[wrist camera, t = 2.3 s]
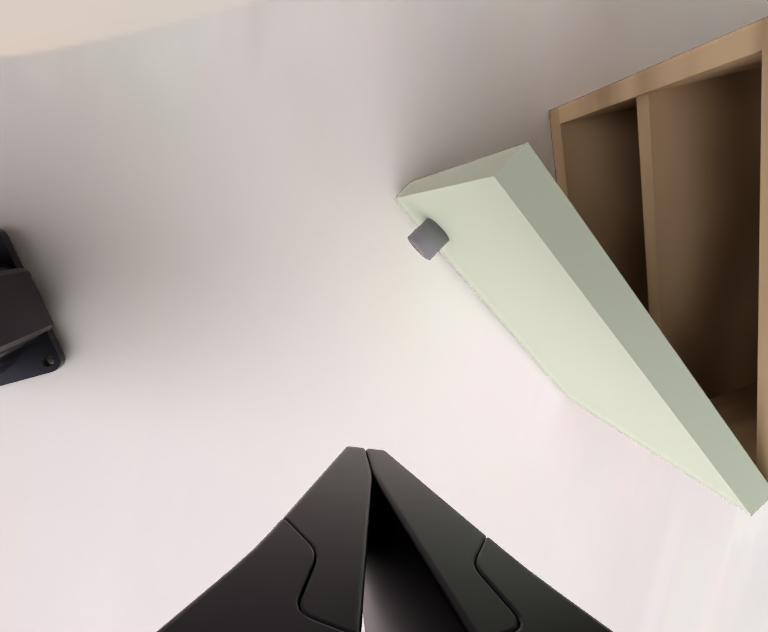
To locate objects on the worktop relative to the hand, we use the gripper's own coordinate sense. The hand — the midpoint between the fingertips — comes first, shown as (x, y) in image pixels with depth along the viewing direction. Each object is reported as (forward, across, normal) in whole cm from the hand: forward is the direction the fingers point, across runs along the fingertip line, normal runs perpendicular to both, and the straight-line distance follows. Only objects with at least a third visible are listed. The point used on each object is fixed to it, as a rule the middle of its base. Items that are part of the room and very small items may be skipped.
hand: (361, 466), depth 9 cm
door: (+14, +8, 0) cm, 16 cm away
